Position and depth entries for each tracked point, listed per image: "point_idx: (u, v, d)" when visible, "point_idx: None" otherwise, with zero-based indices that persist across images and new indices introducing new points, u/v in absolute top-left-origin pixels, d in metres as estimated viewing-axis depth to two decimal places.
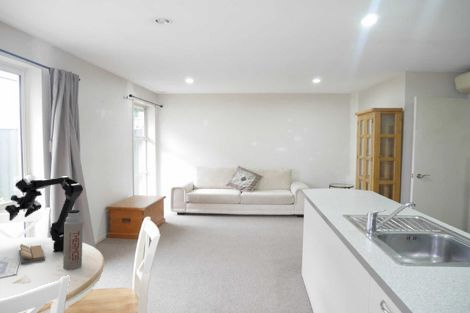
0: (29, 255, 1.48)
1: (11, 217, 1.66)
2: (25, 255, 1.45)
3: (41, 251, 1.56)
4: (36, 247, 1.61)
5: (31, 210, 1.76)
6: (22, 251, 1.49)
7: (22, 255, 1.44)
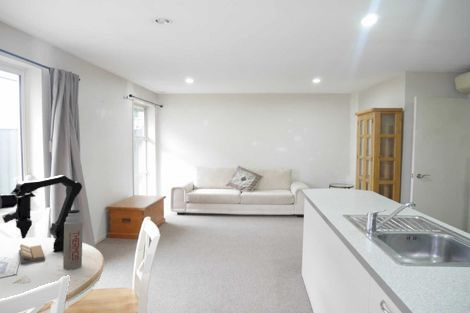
0: (29, 255, 1.48)
1: (25, 232, 1.46)
2: (25, 255, 1.45)
3: (41, 251, 1.56)
4: (36, 247, 1.61)
5: None
6: (22, 251, 1.49)
7: (22, 255, 1.44)
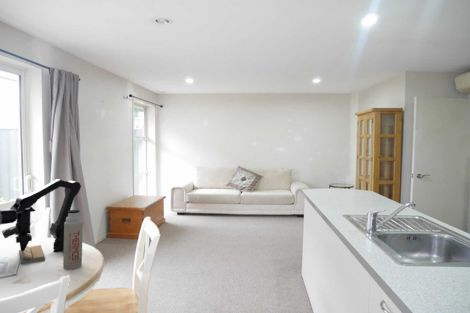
0: (29, 255, 1.48)
1: (24, 245, 1.49)
2: (25, 255, 1.45)
3: (41, 251, 1.56)
4: (36, 247, 1.61)
5: None
6: (22, 251, 1.48)
7: (22, 255, 1.44)
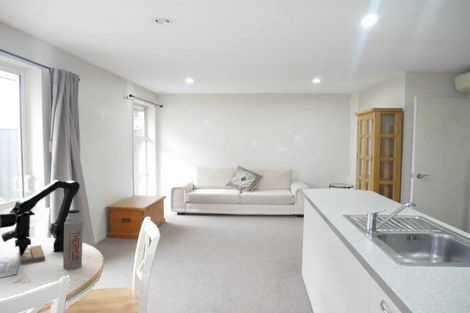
0: (28, 256, 1.47)
1: (23, 249, 1.49)
2: (23, 258, 1.45)
3: (41, 251, 1.56)
4: (36, 247, 1.61)
5: None
6: (20, 255, 1.48)
7: None
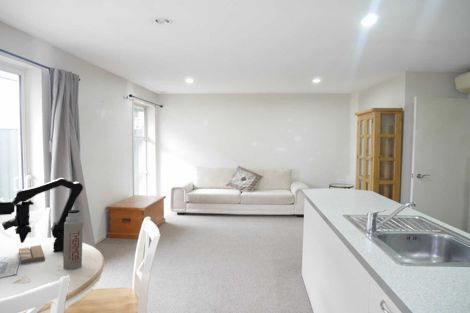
0: (28, 256, 1.47)
1: (24, 237, 1.54)
2: (23, 258, 1.45)
3: (41, 251, 1.56)
4: (36, 247, 1.61)
5: None
6: (20, 255, 1.48)
7: None
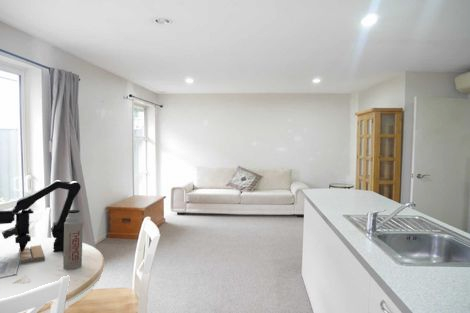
0: (28, 256, 1.47)
1: (23, 246, 1.54)
2: (23, 258, 1.45)
3: (41, 251, 1.56)
4: (36, 247, 1.61)
5: None
6: (20, 255, 1.48)
7: None
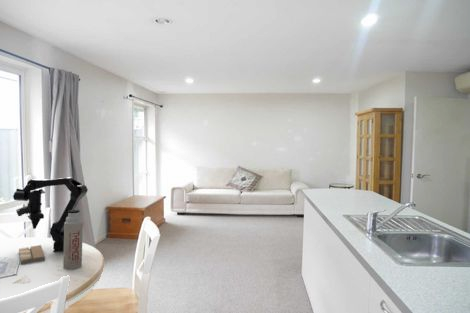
0: (28, 257, 1.47)
1: (36, 223, 1.64)
2: (23, 259, 1.44)
3: (41, 251, 1.56)
4: (36, 247, 1.61)
5: None
6: (20, 256, 1.48)
7: (20, 260, 1.44)
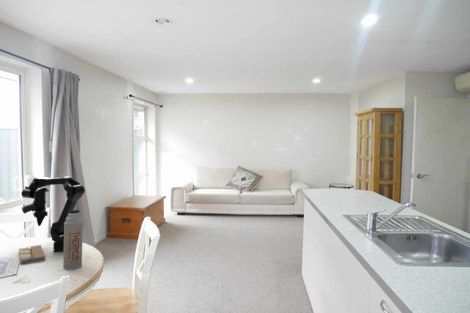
0: (28, 257, 1.47)
1: (40, 221, 1.68)
2: (23, 259, 1.44)
3: (41, 251, 1.56)
4: (36, 247, 1.61)
5: None
6: (20, 256, 1.48)
7: (20, 260, 1.44)
